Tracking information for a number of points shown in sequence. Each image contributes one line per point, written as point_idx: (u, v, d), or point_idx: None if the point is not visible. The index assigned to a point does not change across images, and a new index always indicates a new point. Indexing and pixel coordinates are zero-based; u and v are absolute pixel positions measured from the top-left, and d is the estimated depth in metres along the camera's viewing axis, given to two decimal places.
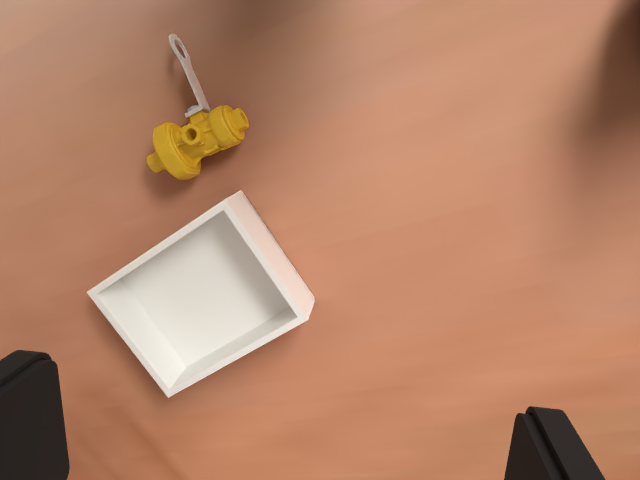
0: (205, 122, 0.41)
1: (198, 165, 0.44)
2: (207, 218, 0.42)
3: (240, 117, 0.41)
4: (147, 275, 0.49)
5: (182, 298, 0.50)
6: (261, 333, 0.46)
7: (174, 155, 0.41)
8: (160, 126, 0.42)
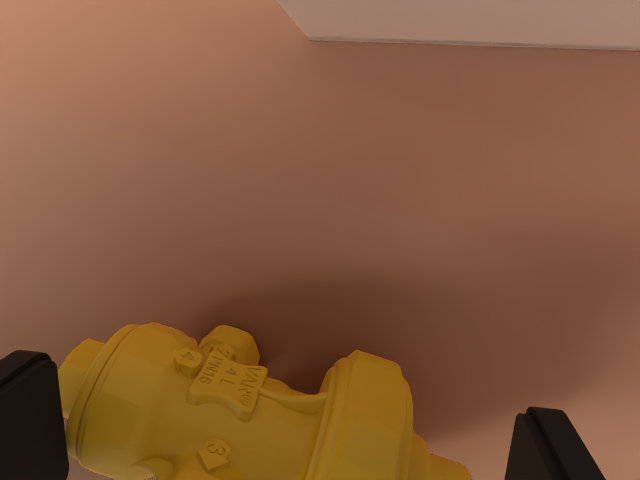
0: None
1: (328, 379, 0.11)
2: None
3: None
4: None
5: None
6: None
7: None
8: None
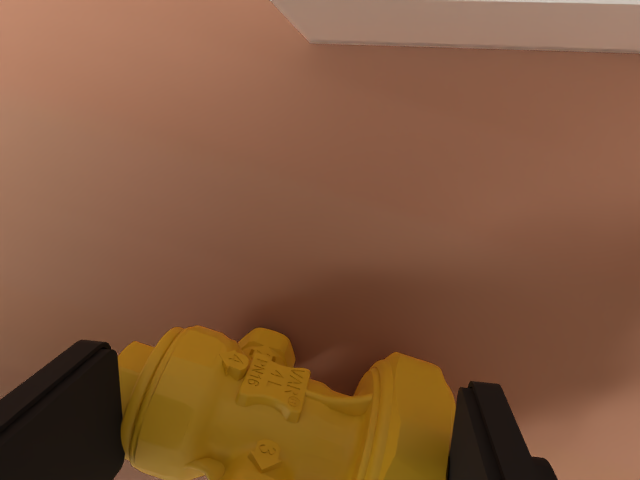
0: None
1: (371, 381, 0.12)
2: None
3: None
4: None
5: None
6: None
7: None
8: None
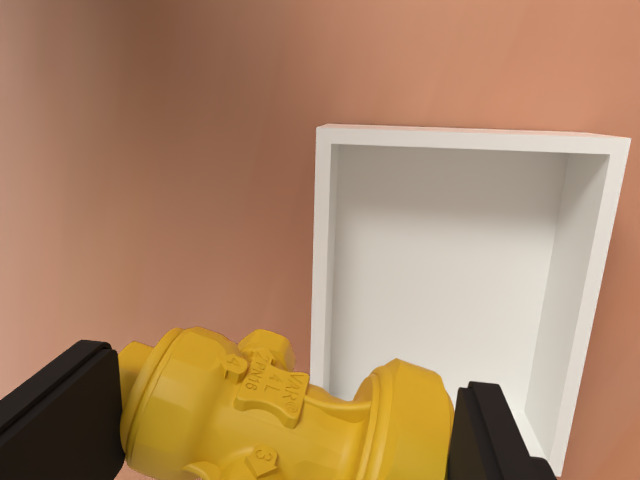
0: None
1: (370, 388, 0.11)
2: (326, 181, 0.22)
3: None
4: (351, 353, 0.29)
5: (419, 333, 0.28)
6: (578, 249, 0.22)
7: None
8: None
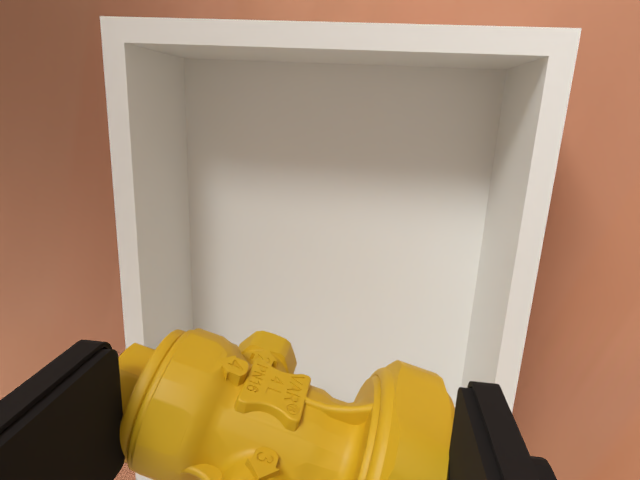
0: None
1: (371, 389, 0.11)
2: (124, 103, 0.14)
3: None
4: None
5: (309, 337, 0.21)
6: (509, 214, 0.15)
7: None
8: None
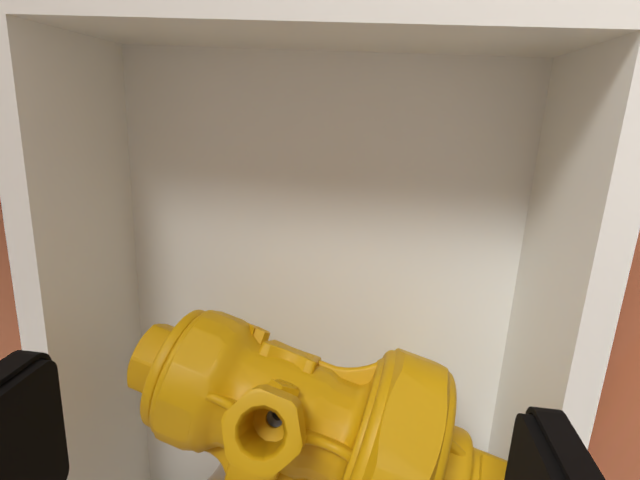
0: (222, 434, 0.11)
1: None
2: (11, 103, 0.10)
3: (135, 352, 0.12)
4: None
5: None
6: (565, 261, 0.11)
7: (379, 431, 0.10)
8: None
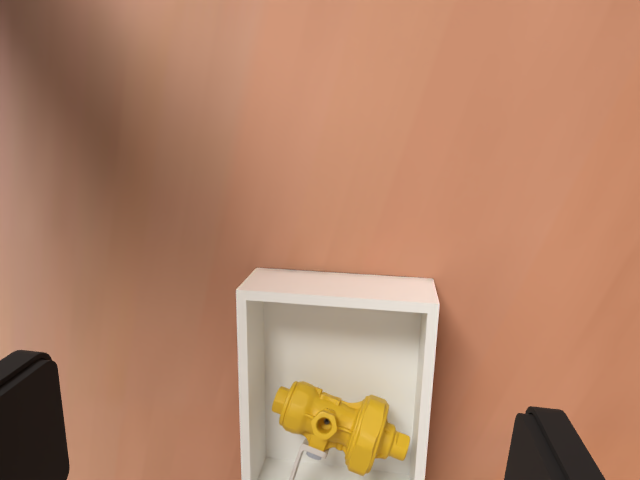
0: (308, 427, 0.33)
1: None
2: (244, 323, 0.32)
3: (275, 398, 0.34)
4: (280, 429, 0.39)
5: None
6: (421, 368, 0.32)
7: (360, 424, 0.32)
8: (354, 469, 0.32)
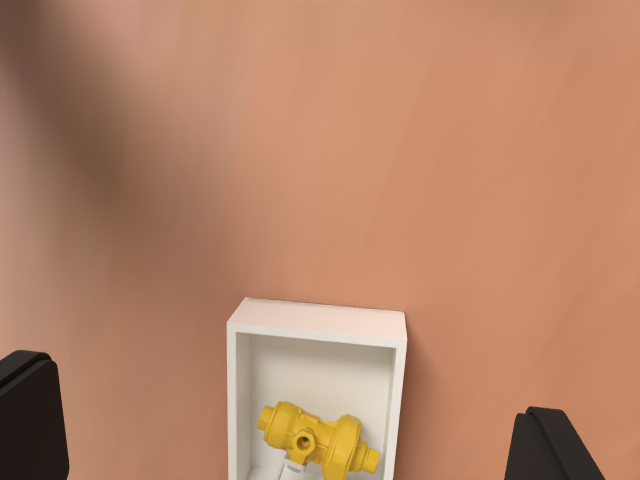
0: (289, 443, 0.37)
1: None
2: (234, 352, 0.36)
3: (260, 417, 0.38)
4: (264, 441, 0.43)
5: None
6: None
7: (336, 443, 0.36)
8: None
